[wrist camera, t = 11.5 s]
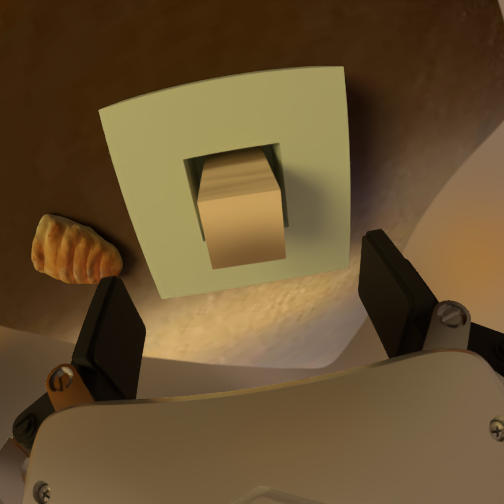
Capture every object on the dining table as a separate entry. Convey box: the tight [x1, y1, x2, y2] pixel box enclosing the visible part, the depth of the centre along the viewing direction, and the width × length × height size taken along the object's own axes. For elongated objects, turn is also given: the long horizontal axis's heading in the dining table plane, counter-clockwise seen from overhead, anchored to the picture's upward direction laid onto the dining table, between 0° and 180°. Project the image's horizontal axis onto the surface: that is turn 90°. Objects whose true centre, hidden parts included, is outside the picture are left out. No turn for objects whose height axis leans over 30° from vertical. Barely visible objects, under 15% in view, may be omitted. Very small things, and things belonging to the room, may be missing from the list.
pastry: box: [32, 214, 123, 284], centre depth 27 cm, size 9×7×4 cm
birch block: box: [197, 146, 286, 270], centre depth 20 cm, size 4×4×10 cm
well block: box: [99, 66, 350, 299], centre depth 23 cm, size 15×15×6 cm
